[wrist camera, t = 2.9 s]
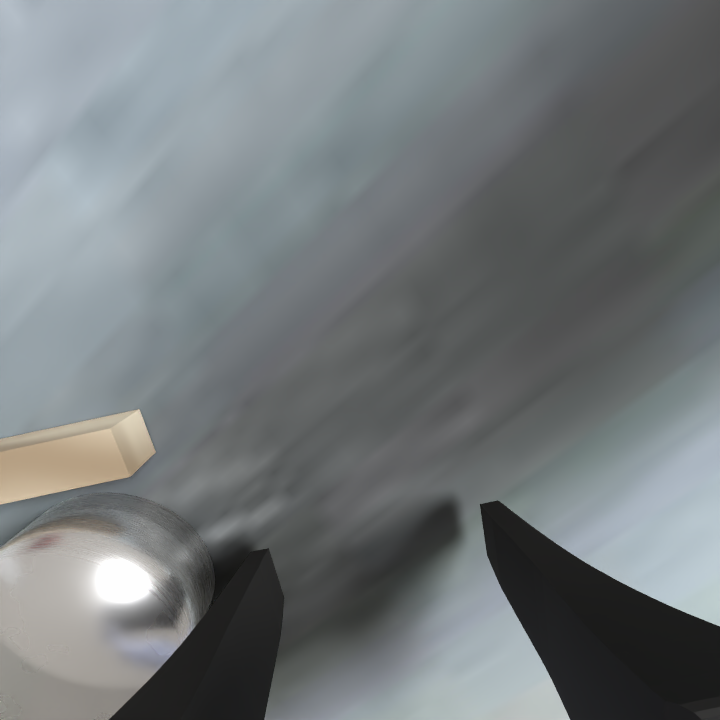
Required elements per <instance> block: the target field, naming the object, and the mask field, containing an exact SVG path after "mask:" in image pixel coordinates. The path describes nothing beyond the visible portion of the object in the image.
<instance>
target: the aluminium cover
mask: <svg viewBox="0 0 720 720" xmlns="http://www.w3.org/2000/svg"><path fill="white" fill-rule="evenodd" d="M214 588H215V572H214V566H213V562H212V559H211V556H210V554H209V551H208V549H207V547H206V545H205V544H204V542H203V541H202V539H201V538H200V536H199V535H198V534H197V533H196V531H195V530H194V529H193V528H192V527H191V526H190V525H189V524H188V523H187V522H186V521H184V520H183V519H182V518H181V517H179V516H178V515H176V514H175V513H174V512H172V511H170V510H169V509H167V508H165V507H163V506H161V505H159V504H157V503H154V502H152V501H150V500H147V499H143V498H140V497H137V496H132V495H127V494H120V493H93V494H86V495H81V496H77V497H74V498H70V499H68V500H65V501H63V502H61V503H58V504H56V505H55V506H53V507H51V508H50V509H48V510H47V511H45V512H44V513H43V514H42V515H40V516H39V517H38V518H37V519H35V520H34V521H33V522H32V523H30V524H29V525H28V526H27V527H25V528H24V529H23V530H22V531H20V532H19V533H18V534H17V535H15V536H14V537H13V538H11V539H10V540H9V541H8V542H6V543H5V544H4V545H3V546H1V547H0V720H109V719H110V718H111V717H112V716H113V715H114V714H115V713H116V712H117V711H118V710H119V709H120V708H121V707H122V706H123V705H124V704H125V703H126V702H127V701H128V700H129V699H130V698H131V697H132V696H133V695H134V694H135V693H136V692H137V691H138V690H139V689H140V688H141V687H142V686H143V685H144V684H145V683H146V682H147V681H148V680H149V679H150V678H151V677H152V676H153V675H154V674H155V673H156V672H157V671H158V670H159V668H160V667H161V666H162V665H163V664H164V663H165V662H166V661H167V660H168V659H169V657H170V656H171V655H172V654H173V653H174V652H175V651H176V649H177V648H178V647H179V646H180V645H181V644H182V642H183V641H184V640H185V639H186V638H187V636H188V635H189V634H190V633H191V631H192V630H193V629H194V628H195V626H196V625H197V624H198V623H199V621H200V620H201V619H202V618H203V616H204V615H205V614H206V613H207V610H208V608H209V605H210V603H211V600H212V597H213V593H214Z"/></svg>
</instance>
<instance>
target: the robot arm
mask: <svg viewBox="0 0 720 720" xmlns="http://www.w3.org/2000/svg"><path fill="white" fill-rule="evenodd" d="M480 508H481V515H482V522H483V529H484V536H485V543H486V550H487V556H488V558H489V561H490V563H491V565H492V568H493V570H494V572H495V575H496V577H497V579H498V582H499V584H500V586H501V588H502V590H503V592H504V594H505V595H506V597H507V599H508V601H509V603H510V604H511V606H512V608H513V610H514V612H515V613H516V615H517V617H518V619H519V621H520V622H521V624H522V626H523V628H524V629H525V631H526V633H527V635H528V637H529V638H530V640H531V642H532V644H533V646H534V647H535V649H536V651H537V653H538V654H539V656H540V658H541V660H542V662H543V663H544V665H545V667H546V669H547V671H548V673H549V675H550V677H551V679H552V681H553V683H554V685H555V687H556V690H557V692H558V694H559V696H560V698H561V700H562V702H563V705H564V707H565V709H566V711H567V713H568V715H569V718H570V720H720V627H719V626H717V625H714V624H712V623H709V622H707V621H704V620H702V619H699V618H697V617H695V616H692V615H690V614H687V613H685V612H682V611H680V610H678V609H675V608H673V607H671V606H669V605H666V604H664V603H662V602H660V601H658V600H656V599H653V598H651V597H649V596H647V595H645V594H643V593H641V592H639V591H637V590H635V589H633V588H631V587H629V586H627V585H625V584H623V583H621V582H619V581H617V580H615V579H613V578H612V577H610V576H608V575H606V574H604V573H603V572H601V571H599V570H597V569H595V568H594V567H592V566H590V565H588V564H587V563H585V562H583V561H582V560H580V559H579V558H577V557H576V556H574V555H572V554H571V553H569V552H568V551H566V550H565V549H563V548H562V547H560V546H559V545H557V544H556V543H554V542H553V541H552V540H550V539H549V538H547V537H546V536H545V535H543V534H542V533H540V532H539V531H538V530H536V529H535V528H533V527H532V526H531V525H529V524H528V523H527V522H525V521H524V520H523V519H522V518H520V517H519V516H518V515H516V514H515V513H514V512H512V511H511V510H510V509H509V508H507V507H506V506H505V505H504V504H502V503H501V502H499V501H493V502H489V503H484V504H480ZM283 604H284V596H283V592H282V589H281V586H280V583H279V580H278V577H277V573H276V570H275V567H274V564H273V561H272V558H271V554H270V551H269V548H268V549H263V550H258V551H253V552H251V553H250V554H249V555H248V556H247V558H246V559H245V561H244V562H243V563H242V565H241V566H240V568H239V569H238V570H237V572H236V573H235V575H234V576H233V577H232V579H231V580H230V582H229V583H228V584H227V586H226V587H225V588H224V590H223V591H222V593H221V594H220V595H219V597H218V598H217V599H216V601H215V602H214V603H213V605H212V606H211V607H210V609H209V610H208V611H207V613H206V614H205V615H204V616H203V618H202V619H201V620H200V621H199V623H198V624H197V625H196V626H195V628H194V629H193V630H192V631H191V633H190V634H189V635H188V636H187V638H186V639H185V640H184V641H183V642H182V644H181V645H180V646H179V647H178V648H177V649H176V651H175V652H174V653H173V654H172V655H171V656H170V657H169V659H168V660H167V661H166V662H165V663H164V664H163V665H162V666H161V667H160V668H159V670H158V671H157V672H156V673H155V674H154V675H153V676H152V677H151V678H150V679H149V680H148V681H147V682H146V683H145V684H144V685H143V686H142V687H141V688H140V689H139V690H138V691H137V692H136V693H135V694H134V695H133V696H132V697H131V698H130V699H129V700H128V701H127V702H126V703H125V704H124V705H123V706H122V707H121V708H120V709H119V710H118V711H117V712H116V713H115V714H114V715H113V716H112V717H111V718H110V719H109V720H264V717H265V712H266V707H267V702H268V697H269V692H270V687H271V682H272V677H273V672H274V667H275V662H276V657H277V651H278V646H279V641H280V635H281V628H282V617H283Z"/></svg>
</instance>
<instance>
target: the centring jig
mask: <svg viewBox="0 0 720 720" xmlns="http://www.w3.org/2000/svg"><path fill="white" fill-rule="evenodd" d="M155 453H156V452H155V449H154V446H153V444H152V441H151V439H150V436H149V433H148V431H147V428H146V426H145V423H144V420H143V418H142V415H141V413H140V410H139V409H138V410H133V411H129V412H124V413H119V414H115V415H110V416H105V417H101V418H96V419H91V420H87V421H82V422H77V423H73V424H68V425H63V426H59V427H54V428H49V429H45V430H40V431H35V432H30V433H26V434H21V435H16V436H12V437H7V438H2V439H0V504H5V503H9V502H14V501H19V500H23V499H28V498H33V497H38V496H42V495H47V494H52V493H56V492H61V491H66V490H70V489H75V488H80V487H84V486H89V485H94V484H99V483H103V482H108V481H113V480H117V479H122V478H127V477H130V476H132V475H133V474H134V473H135V472H136V471H137V470H138V469H139V468H140V467H141V466H142V465H143V464H144V463H145V462H146V461H147V460H148V459H149V458H150V457H151V456H153V455H154V454H155Z"/></svg>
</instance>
